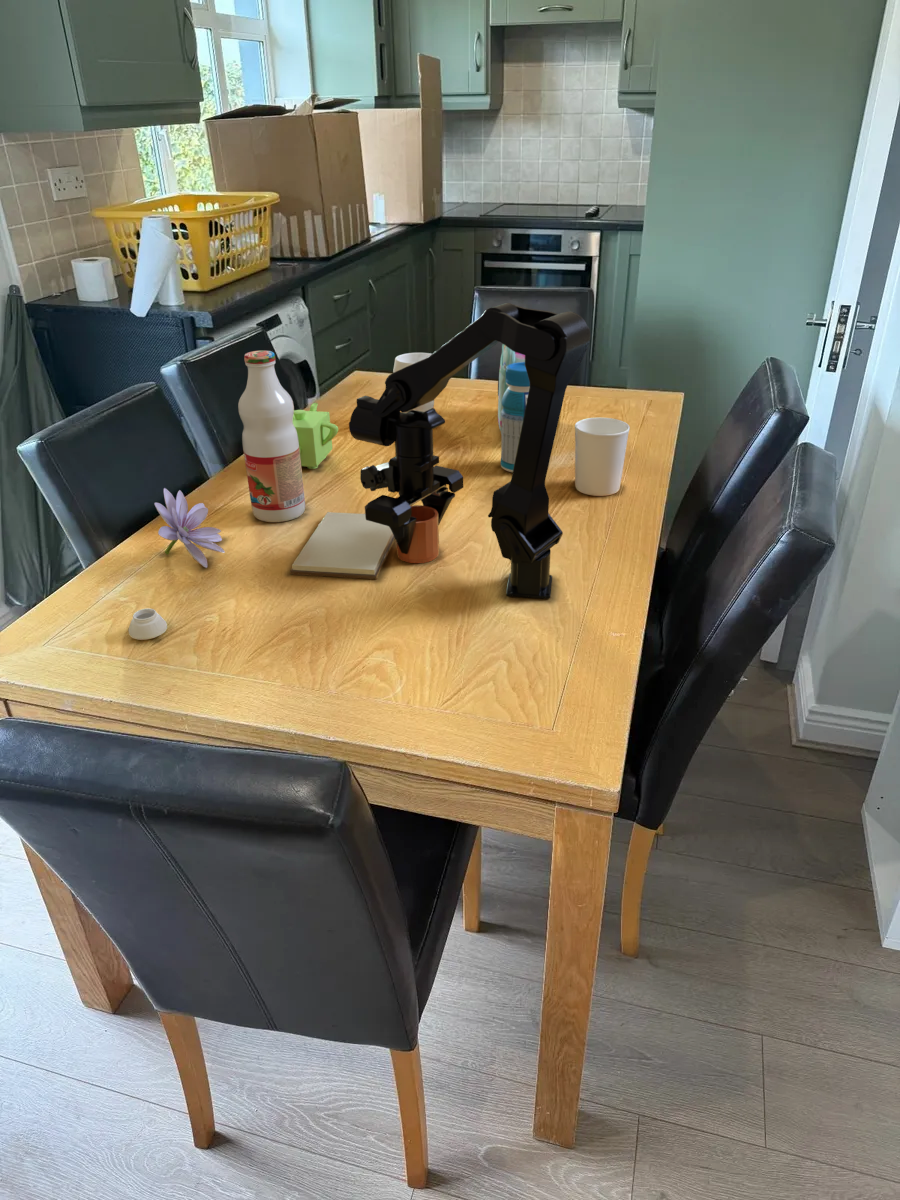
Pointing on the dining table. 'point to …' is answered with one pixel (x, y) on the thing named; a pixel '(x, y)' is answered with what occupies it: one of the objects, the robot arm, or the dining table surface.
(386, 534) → the tile
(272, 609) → the dining table surface
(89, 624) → the dining table surface
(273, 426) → the fruit juice
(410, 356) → the cup
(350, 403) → the dining table surface
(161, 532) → the water lily
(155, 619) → the lidless jar
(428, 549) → the pot
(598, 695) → the dining table surface
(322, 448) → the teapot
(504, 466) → the beverage bottle
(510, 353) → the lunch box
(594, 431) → the white tumbler
